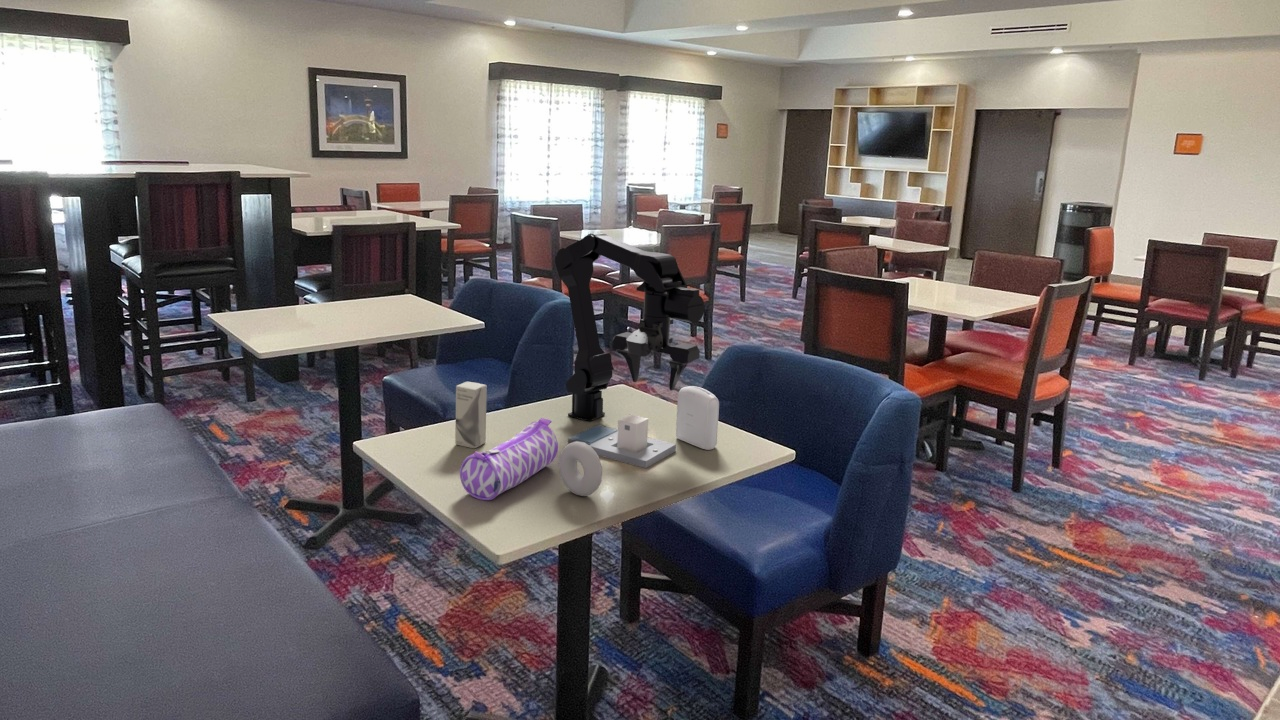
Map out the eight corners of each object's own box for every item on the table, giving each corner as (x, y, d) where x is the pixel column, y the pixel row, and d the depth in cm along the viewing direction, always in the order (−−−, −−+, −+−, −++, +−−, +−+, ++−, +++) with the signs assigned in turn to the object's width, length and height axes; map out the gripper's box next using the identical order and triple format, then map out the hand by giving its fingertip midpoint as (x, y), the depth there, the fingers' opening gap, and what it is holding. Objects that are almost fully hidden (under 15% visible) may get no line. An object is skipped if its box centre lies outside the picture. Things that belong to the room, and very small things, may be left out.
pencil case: (497, 509, 143) (497, 457, 141) (453, 497, 147) (452, 447, 144) (561, 467, 163) (562, 421, 160) (521, 458, 166) (521, 413, 164)
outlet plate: (588, 452, 170) (588, 444, 170) (619, 436, 180) (620, 429, 180) (645, 468, 163) (646, 460, 163) (675, 451, 173) (676, 443, 173)
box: (454, 445, 171) (453, 385, 168) (466, 438, 175) (465, 380, 172) (476, 449, 170) (475, 389, 166) (487, 442, 174) (487, 384, 170)
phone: (568, 441, 176) (568, 437, 176) (597, 428, 185) (597, 424, 185) (591, 447, 173) (591, 443, 173) (619, 433, 182) (620, 430, 182)
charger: (617, 451, 171) (618, 419, 169) (628, 445, 175) (629, 414, 173) (635, 456, 169) (636, 424, 167) (646, 450, 173) (648, 418, 171)
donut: (605, 500, 148) (607, 447, 145) (591, 505, 146) (593, 452, 143) (568, 483, 155) (569, 433, 152) (554, 488, 152) (555, 437, 150)
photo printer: (672, 438, 181) (675, 383, 178) (687, 434, 184) (690, 380, 181) (704, 452, 173) (708, 395, 170) (719, 448, 176) (723, 392, 173)
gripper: (598, 313, 172) (596, 385, 176) (676, 328, 162) (671, 403, 166) (627, 306, 181) (624, 374, 185) (703, 319, 172) (698, 391, 176)
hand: (653, 385), depth 178 cm, fingers open, 9 cm apart
